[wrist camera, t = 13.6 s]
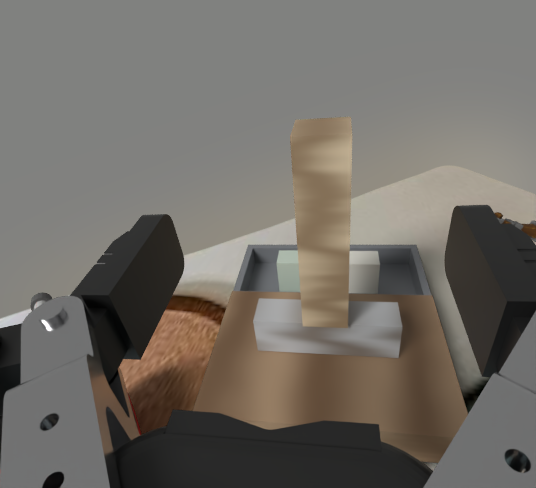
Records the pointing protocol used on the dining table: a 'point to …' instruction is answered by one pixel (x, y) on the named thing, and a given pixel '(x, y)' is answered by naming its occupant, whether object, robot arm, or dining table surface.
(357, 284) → the tile
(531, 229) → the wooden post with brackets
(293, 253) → the tile
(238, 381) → the board
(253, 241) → the dining table surface
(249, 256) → the tray
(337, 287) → the scraper
